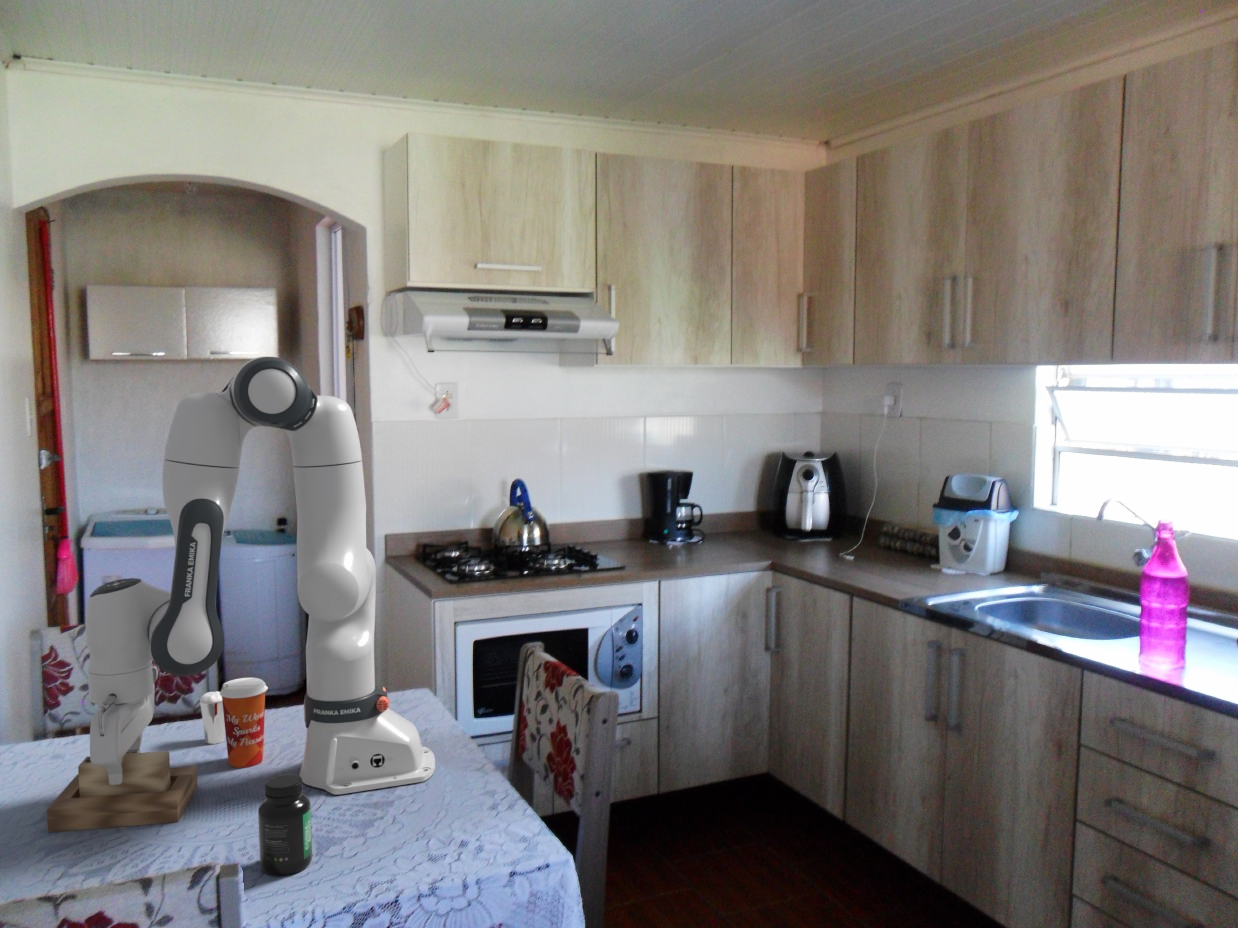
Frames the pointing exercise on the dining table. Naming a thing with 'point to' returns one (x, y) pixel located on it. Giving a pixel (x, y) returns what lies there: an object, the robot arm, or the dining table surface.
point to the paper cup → (244, 720)
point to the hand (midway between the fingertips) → (125, 771)
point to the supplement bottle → (285, 826)
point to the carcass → (122, 805)
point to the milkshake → (213, 717)
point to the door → (127, 775)
